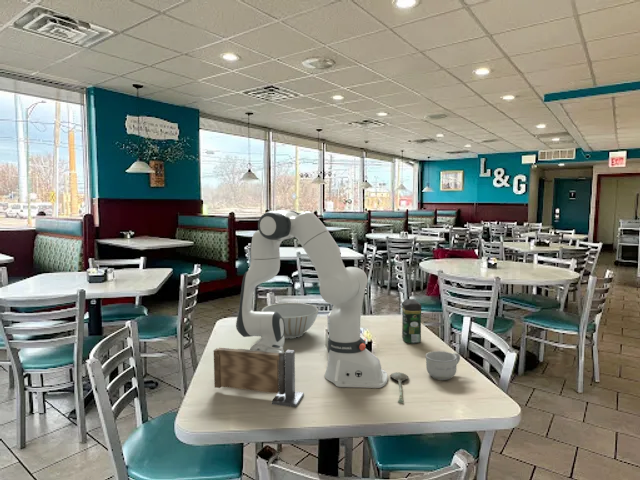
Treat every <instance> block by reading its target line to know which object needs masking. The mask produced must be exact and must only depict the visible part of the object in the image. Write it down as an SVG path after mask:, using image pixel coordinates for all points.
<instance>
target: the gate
mask: <svg viewBox="0 0 640 480" xmlns="http://www.w3.org/2000/svg"><path fill="white" fill-rule="evenodd" d="M240 349H241V348H229V347H219V348H214V350H213V376H214V377H213V379H214V380H213V381H214V388H216V389H220V388H222V387H223V388H231V389H240V390H246V391H256V392H263V393H264V392H266V393H272V394H273V393H274V394H278V392H279V394H285V351H284V352H280V353H271V352H261V351H250V349H248V350H240Z"/></svg>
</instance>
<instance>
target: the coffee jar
mask: <svg viewBox="0 0 640 480" xmlns="http://www.w3.org/2000/svg"><path fill="white" fill-rule="evenodd" d="M401 308H402V310H401V311H402V320H401V321H402V322H401V323H402V325H401V329H402V330H401V337H402V340H403V341H404V343H408V344H414V345H415V344H418V343H421V341H422V304H421V303H420V302H419V301H417V300H416V299H415V298H412V299H411V298H410V299H409V298H408V299H407V298H406V299H405V300H403V301H402V307H401Z"/></svg>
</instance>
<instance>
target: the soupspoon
mask: <svg viewBox="0 0 640 480" xmlns="http://www.w3.org/2000/svg"><path fill="white" fill-rule="evenodd" d="M389 377H391V378H392V379H394V380H395V381H398V387H399V398H398V401H397V403H398V404H404V403H405V402H404V400H403V389H402V382H403V381H405V380H407V379H408V378H409V376H408V374H406V373H403V372H398V371H397V372H393V373H391V374H390V375H389Z"/></svg>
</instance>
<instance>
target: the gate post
mask: <svg viewBox="0 0 640 480" xmlns="http://www.w3.org/2000/svg"><path fill="white" fill-rule="evenodd" d="M295 351H296V350H294V349H287V350H286V351H284V353H285V394H279V392H278V393H276V395H275V396H274V397H273V399H272V401H271V405H275V406H276V405H277V406H285V407H290V406H291V408H297V407H298V405H299V404H300V402H301V400H302V399H303V398H304V396H305V394H304V392H301V391H296V371H295V370H296V368H295V367H296V364H295V363H296V360H295V359H296V358H295V357H296V355H295V353H296V352H295Z"/></svg>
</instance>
